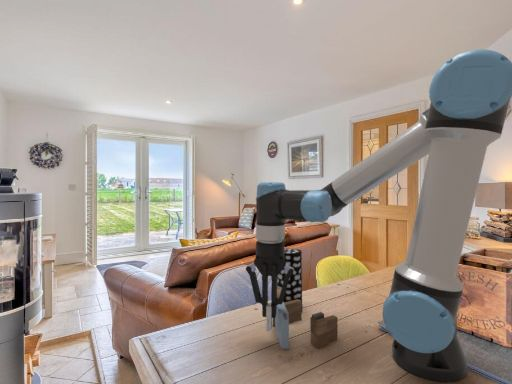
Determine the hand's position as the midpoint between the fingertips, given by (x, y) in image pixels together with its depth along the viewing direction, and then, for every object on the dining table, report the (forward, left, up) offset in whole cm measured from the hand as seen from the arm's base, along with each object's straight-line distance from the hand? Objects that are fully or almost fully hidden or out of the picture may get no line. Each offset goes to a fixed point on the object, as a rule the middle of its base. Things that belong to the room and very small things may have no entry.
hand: (269, 328), depth 80 cm
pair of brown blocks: (0, -12, -4) cm, 12 cm away
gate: (0, -4, -4) cm, 6 cm away
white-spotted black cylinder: (+14, -18, -4) cm, 23 cm away
